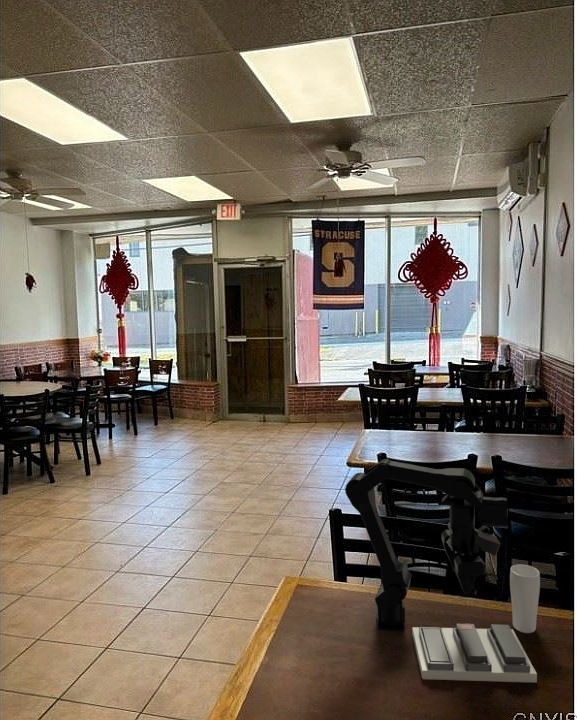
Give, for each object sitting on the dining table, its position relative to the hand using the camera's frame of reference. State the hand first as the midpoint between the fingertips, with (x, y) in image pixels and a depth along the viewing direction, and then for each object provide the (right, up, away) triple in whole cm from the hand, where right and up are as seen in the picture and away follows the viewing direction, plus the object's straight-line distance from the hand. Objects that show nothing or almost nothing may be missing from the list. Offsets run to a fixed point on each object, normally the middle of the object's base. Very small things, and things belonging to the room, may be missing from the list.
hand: (462, 584), depth 132 cm
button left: (-8, -12, -7) cm, 16 cm away
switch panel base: (0, -14, -7) cm, 15 cm away
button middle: (-1, -10, -8) cm, 13 cm away
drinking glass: (+17, -13, +4) cm, 21 cm away
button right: (+7, -10, -9) cm, 15 cm away
